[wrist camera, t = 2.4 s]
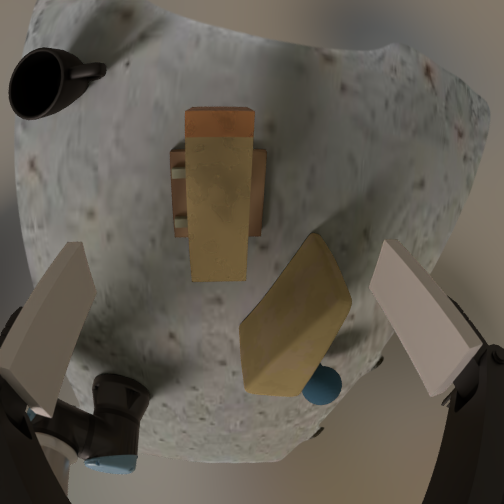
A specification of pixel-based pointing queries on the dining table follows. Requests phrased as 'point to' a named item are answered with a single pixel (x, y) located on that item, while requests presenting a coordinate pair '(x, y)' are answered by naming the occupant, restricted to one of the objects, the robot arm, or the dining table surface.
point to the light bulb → (323, 386)
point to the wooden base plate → (181, 200)
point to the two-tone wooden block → (218, 190)
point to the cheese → (294, 323)
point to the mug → (49, 82)
